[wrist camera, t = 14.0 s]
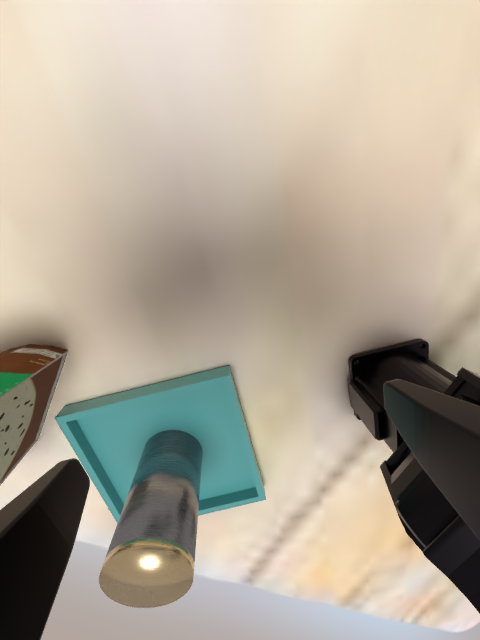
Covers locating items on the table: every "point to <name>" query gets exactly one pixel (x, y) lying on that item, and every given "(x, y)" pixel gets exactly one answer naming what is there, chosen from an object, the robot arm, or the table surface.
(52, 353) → the food container
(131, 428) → the teal tray
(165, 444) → the grey tin
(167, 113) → the table surface
